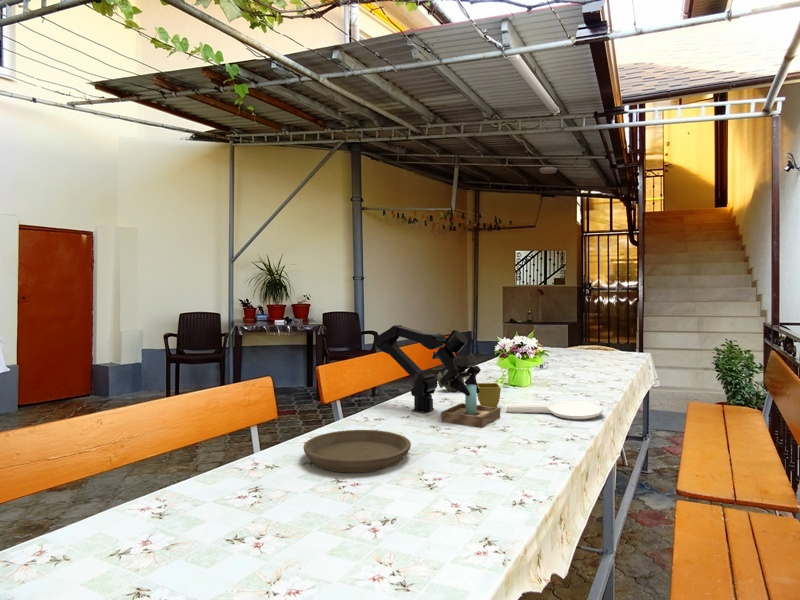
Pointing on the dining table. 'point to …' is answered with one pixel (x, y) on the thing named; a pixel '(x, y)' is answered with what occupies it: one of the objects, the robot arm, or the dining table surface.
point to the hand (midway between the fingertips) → (474, 394)
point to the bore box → (459, 415)
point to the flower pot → (489, 394)
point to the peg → (471, 400)
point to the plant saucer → (357, 450)
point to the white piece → (560, 409)
